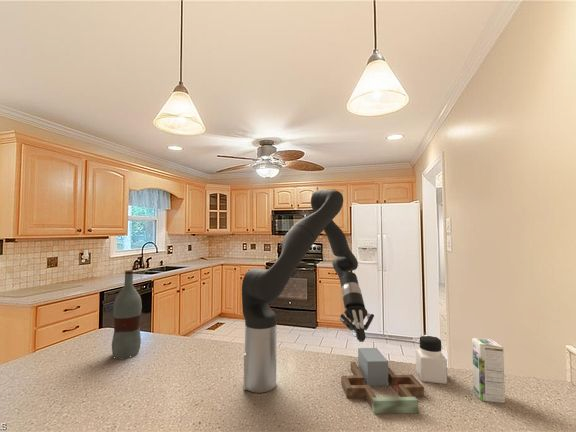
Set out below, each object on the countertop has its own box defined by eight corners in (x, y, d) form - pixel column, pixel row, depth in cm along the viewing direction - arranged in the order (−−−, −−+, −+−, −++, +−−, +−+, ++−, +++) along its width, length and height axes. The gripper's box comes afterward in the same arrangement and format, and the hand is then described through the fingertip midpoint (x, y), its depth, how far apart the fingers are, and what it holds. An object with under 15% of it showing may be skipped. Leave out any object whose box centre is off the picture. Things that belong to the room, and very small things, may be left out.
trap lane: (353, 414, 71) (353, 401, 71) (335, 370, 94) (335, 360, 94) (438, 412, 72) (438, 399, 72) (399, 369, 95) (399, 359, 95)
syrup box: (472, 389, 82) (470, 337, 83) (495, 392, 81) (493, 338, 82) (481, 401, 77) (479, 344, 78) (506, 404, 76) (504, 346, 76)
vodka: (136, 347, 113) (139, 268, 114) (143, 354, 106) (146, 270, 108) (108, 353, 106) (111, 270, 108) (114, 362, 99) (117, 273, 101)
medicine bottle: (447, 384, 85) (446, 342, 86) (421, 381, 87) (420, 340, 87) (440, 373, 92) (439, 334, 93) (416, 370, 94) (415, 332, 94)
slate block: (367, 386, 84) (367, 361, 85) (358, 370, 94) (358, 348, 95) (388, 386, 85) (387, 361, 85) (376, 370, 94) (376, 347, 95)
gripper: (336, 291, 111) (344, 336, 98) (371, 291, 111) (383, 335, 98) (334, 302, 116) (341, 346, 103) (367, 302, 116) (378, 345, 103)
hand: (362, 340), depth 101 cm, fingers closed
